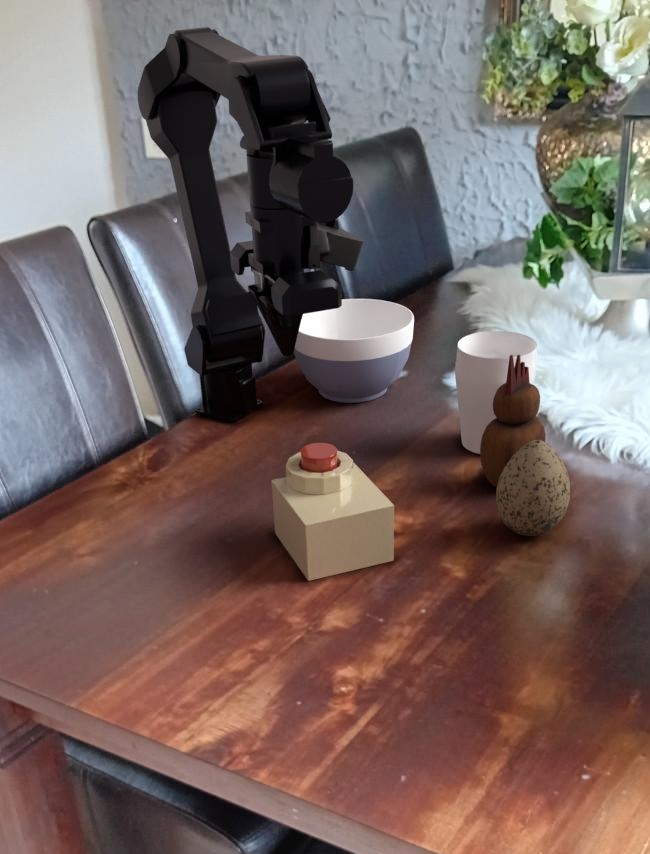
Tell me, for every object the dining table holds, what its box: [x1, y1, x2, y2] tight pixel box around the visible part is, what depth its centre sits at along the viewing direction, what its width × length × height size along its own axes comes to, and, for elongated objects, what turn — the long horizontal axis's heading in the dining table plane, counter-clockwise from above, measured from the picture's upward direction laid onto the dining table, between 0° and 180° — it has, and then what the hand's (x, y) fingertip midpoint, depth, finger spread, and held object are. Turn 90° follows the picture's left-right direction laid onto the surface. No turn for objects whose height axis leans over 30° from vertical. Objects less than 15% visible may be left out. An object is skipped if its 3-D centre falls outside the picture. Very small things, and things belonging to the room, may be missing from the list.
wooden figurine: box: [479, 355, 547, 488], centre depth 106 cm, size 7×6×15 cm
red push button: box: [300, 442, 338, 473], centre depth 99 cm, size 4×4×2 cm
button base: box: [270, 450, 395, 582], centre depth 99 cm, size 11×9×8 cm
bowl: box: [293, 298, 415, 404], centre depth 131 cm, size 16×16×10 cm
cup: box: [454, 330, 538, 455], centre depth 115 cm, size 9×9×12 cm
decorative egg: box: [495, 440, 571, 537], centre depth 99 cm, size 7×7×10 cm
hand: (287, 354), depth 109 cm, fingers closed
